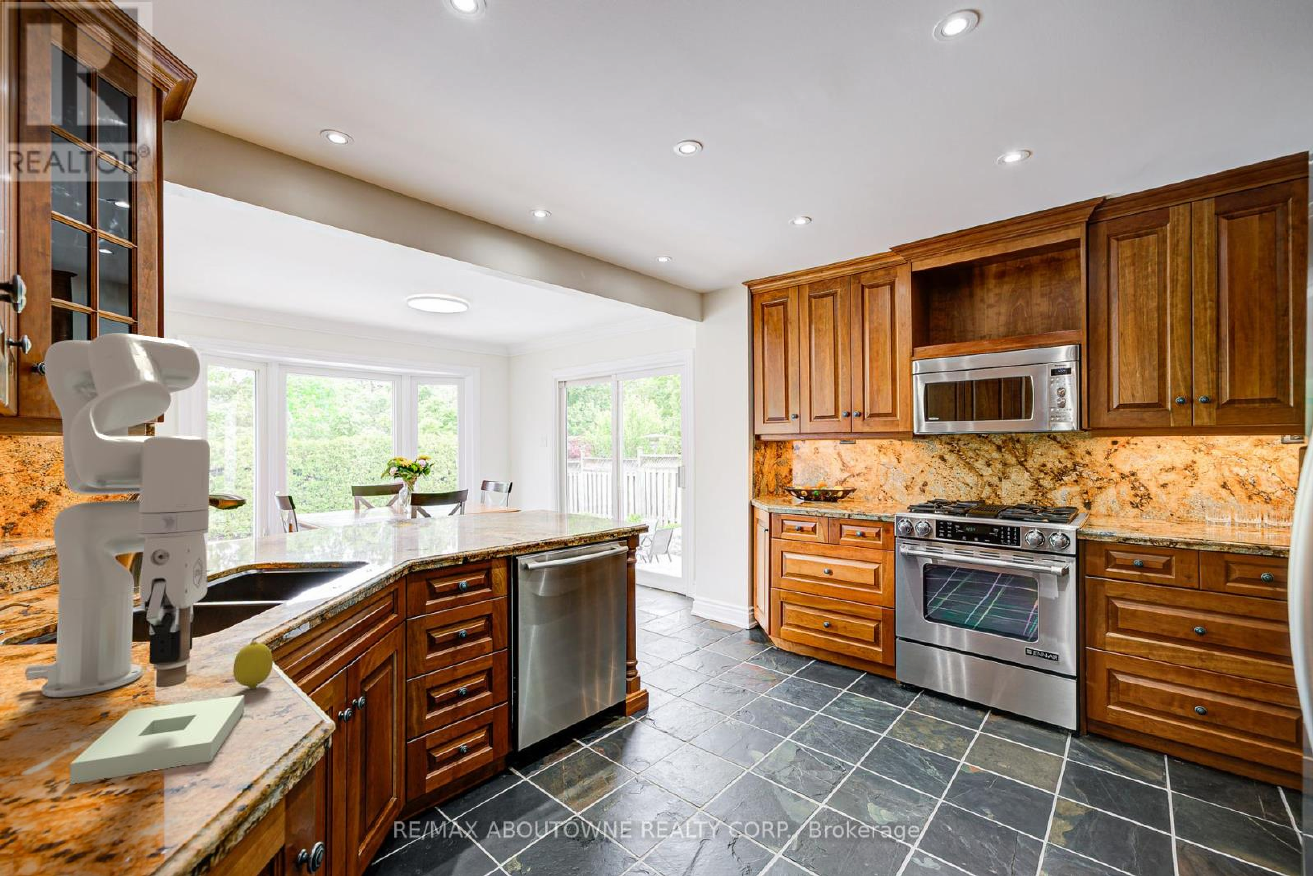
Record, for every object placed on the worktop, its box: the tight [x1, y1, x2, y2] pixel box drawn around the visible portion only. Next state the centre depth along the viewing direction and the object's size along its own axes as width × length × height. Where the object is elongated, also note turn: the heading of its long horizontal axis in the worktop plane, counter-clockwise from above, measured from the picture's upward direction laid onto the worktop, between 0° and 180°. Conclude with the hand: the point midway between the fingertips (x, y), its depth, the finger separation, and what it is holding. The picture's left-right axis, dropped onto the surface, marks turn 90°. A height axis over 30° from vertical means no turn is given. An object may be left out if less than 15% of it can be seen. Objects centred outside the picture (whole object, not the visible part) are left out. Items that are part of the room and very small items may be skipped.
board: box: [69, 694, 245, 785], centre depth 80 cm, size 14×16×2 cm
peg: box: [152, 604, 191, 688], centre depth 80 cm, size 4×4×11 cm
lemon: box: [232, 640, 274, 690], centre depth 99 cm, size 6×6×8 cm
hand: (171, 655), depth 80 cm, fingers closed on peg, 3 cm apart
